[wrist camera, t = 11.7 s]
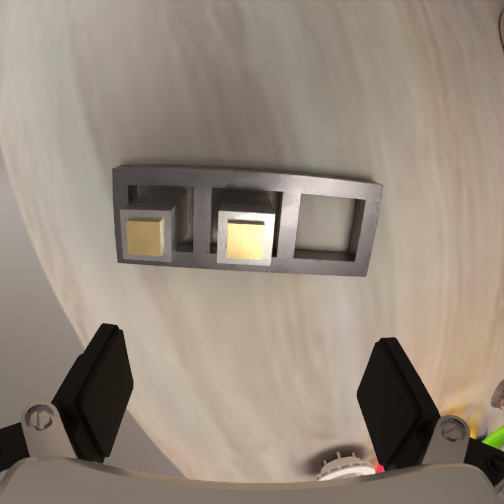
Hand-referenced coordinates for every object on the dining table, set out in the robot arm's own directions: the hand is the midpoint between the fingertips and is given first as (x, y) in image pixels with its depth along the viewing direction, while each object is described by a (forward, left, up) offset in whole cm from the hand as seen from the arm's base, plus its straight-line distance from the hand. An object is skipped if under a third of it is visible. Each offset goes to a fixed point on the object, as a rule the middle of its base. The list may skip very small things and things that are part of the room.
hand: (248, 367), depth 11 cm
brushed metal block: (0, 0, -20) cm, 20 cm away
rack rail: (0, 0, -20) cm, 20 cm away
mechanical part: (+43, +19, -20) cm, 51 cm away
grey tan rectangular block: (0, -8, -20) cm, 22 cm away
